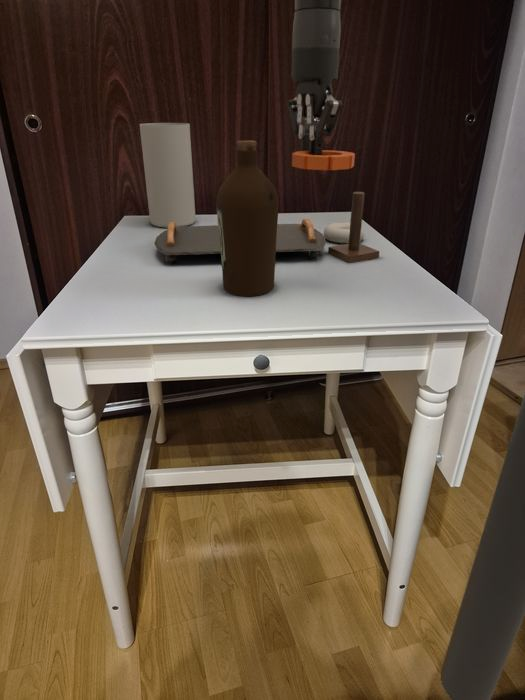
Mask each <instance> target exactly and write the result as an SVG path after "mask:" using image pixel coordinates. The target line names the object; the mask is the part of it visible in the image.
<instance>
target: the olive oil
mask: <svg viewBox="0 0 525 700" xmlns="http://www.w3.org/2000/svg"><path fill="white" fill-rule="evenodd" d="M257 144H258V143H257V141H256V140H252V139H251V140H249V139H248V140H246V139H244V140H237V141H236V146H237V150H236V166H235V168H234V169H233V170H232V172H231V173H230V174H229V175H228V177H226V179H225V180H224V181H223V183H221V185H220V186H219V189H218V193H217V196H216V205H215V206H216V216H217V226H218V228H219V238H220V250H221V254H220V258H221V271H222V286H223V290H224V291H225V292H226V293H229V294H231V295H234V296H240V297H257V296H262V295H266V294H269V293H270V292H272V291H273V290H274V288H275V274H276V273H275V271H276V253H277V252H276V238H277V224H279V223H278V221H279V207H280V206H279V204H280V201H279V197H278V196H279V195H278V193H277V190H276V189H277V188H276V187H275V186H274V184H273V183H272V182H271V181H270V179H269V178H268V177H267V176H266V174H265V173H264V172H263V171H262V170H261V168H259V166H258V149H257Z"/></svg>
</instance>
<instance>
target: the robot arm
mask: <svg viewBox="0 0 525 700" xmlns="http://www.w3.org/2000/svg"><path fill="white" fill-rule="evenodd" d="M341 7H342V0H294V15H293V16H294V17H293V23H292V35H291V37H292V38H291V70H290V71H291V72H290V73H291V77H290V78H291V79H292V81H294V82H297V85H296V86H297V87H296V91H295V97H294V98H293V99H288V100H287V102H286V105H287V109H288V114H289V119H290V123H291V127H292V132H293V134H294V135H298V139H300V151H309V154H310V155H322V150H323V145H324V144H323V143H324V141H325V139H326V138H327V137H329V138H330V137H331V136H332V135H333V132H334V130H335V127H336V124H337V121H338V118H339V116H340V113H341V110H342V107H343V100H341V99H340V100H339V99H337V100H336V99H335V97H333V94H334V92H333V86H332V84H333V83H332V82H334V81H335V82H336V80H338V77H339V66H340V65H339V63H340V47H341V45H340V44H341V32H342V28H341V27H342V25H341Z"/></svg>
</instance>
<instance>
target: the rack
mask: <svg viewBox="0 0 525 700" xmlns="http://www.w3.org/2000/svg"><path fill="white" fill-rule="evenodd" d="M364 202H365V192H364V191H353V192H352V199H351V209H350V222H349V223H350V233H349V243H343V244H339V245H332V246H328V247H327V248H328V250H327V253H328V255H331V256H333V257H335V258H337V259H340V260H342V261H343V262H346V263H348V264H351V263H357V262H362V261H363V262H364V261H369V260H374V259H379V258H380V252H381V251H379V250H378V249H375V248H372V247H369V246H368V245H366V244H362V243H361V240H360V235H361V227H362V225H363V213H364Z"/></svg>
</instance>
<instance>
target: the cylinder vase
mask: <svg viewBox="0 0 525 700" xmlns="http://www.w3.org/2000/svg"><path fill="white" fill-rule="evenodd" d="M139 131H140V141H141V150H142V158H143V167H144V168H143V169H144V178H145V188H146V197H147V206H148V215H149V222H150V224H151V225H153V226H154V227H157V228H165V229H168V225H169V223H170V222H175V223H176V227H178V226H192V225H193V224H195V222H196V205H195V189H194V188H195V187H194V174H193V173H194V172H193V158H192V140H191V125H190V123H187V122H186V123H185V122H151V123H148V122H147V123H146V122H145V123H139Z"/></svg>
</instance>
